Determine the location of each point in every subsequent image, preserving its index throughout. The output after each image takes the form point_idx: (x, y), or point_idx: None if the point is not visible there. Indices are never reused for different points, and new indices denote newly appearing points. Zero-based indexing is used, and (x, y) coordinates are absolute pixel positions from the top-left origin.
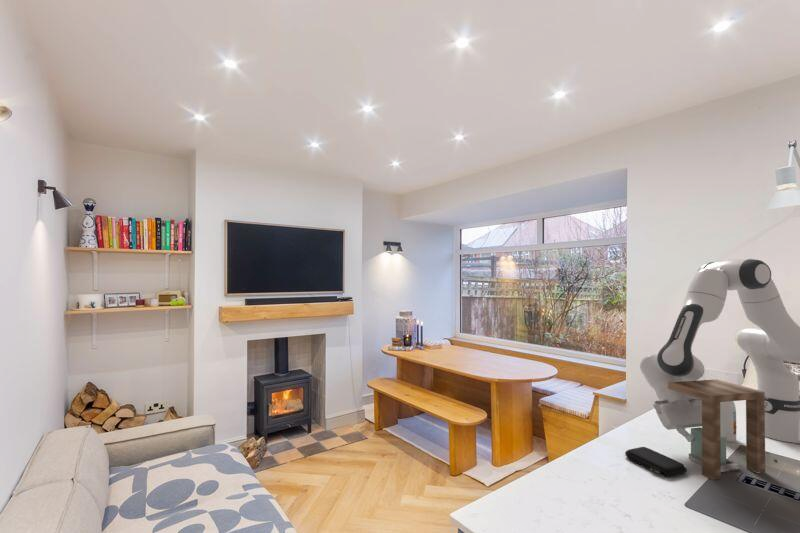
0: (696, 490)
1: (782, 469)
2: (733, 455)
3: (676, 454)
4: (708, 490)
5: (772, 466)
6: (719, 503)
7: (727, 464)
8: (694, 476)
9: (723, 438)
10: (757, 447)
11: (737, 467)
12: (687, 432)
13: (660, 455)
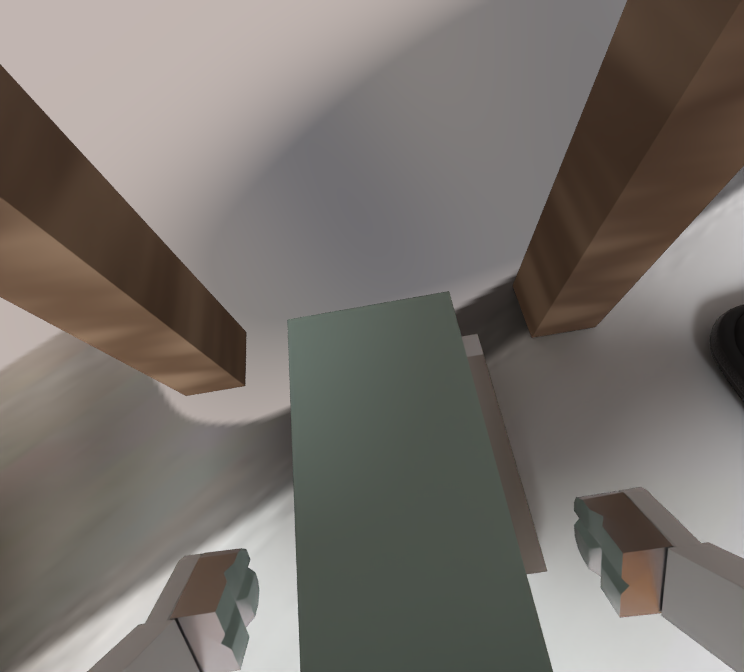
0: (734, 192)
1: (54, 372)
2: (110, 586)
3: (605, 664)
4: None
5: (61, 406)
6: None
7: None
8: (662, 308)
9: (332, 317)
10: (153, 231)
11: None
12: (729, 568)
13: None
